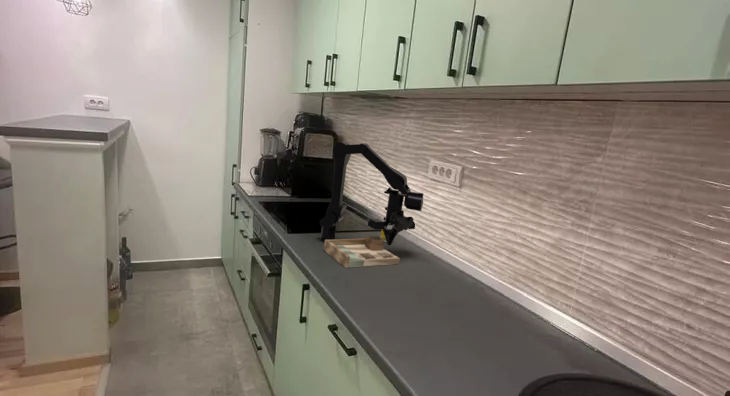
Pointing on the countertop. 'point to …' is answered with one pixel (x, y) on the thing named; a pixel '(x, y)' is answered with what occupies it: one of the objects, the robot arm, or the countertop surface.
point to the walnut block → (374, 243)
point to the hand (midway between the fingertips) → (388, 245)
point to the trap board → (357, 253)
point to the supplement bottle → (383, 235)
